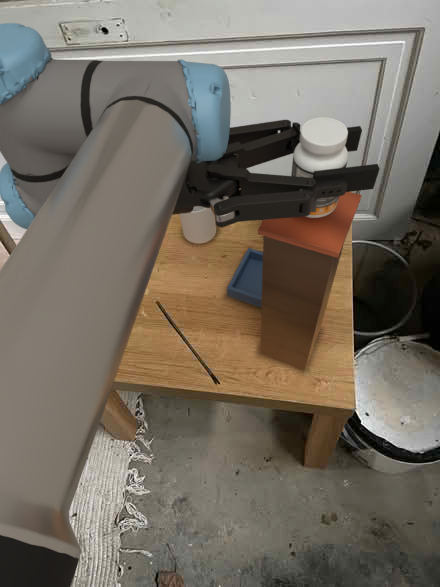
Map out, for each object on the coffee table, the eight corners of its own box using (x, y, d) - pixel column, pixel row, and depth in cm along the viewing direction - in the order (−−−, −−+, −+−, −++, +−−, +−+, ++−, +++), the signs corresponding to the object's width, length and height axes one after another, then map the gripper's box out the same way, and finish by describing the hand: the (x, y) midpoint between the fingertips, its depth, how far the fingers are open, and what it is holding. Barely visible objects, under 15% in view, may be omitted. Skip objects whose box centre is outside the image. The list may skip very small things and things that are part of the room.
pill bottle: (323, 227, 48) (337, 156, 40) (279, 208, 50) (285, 137, 42) (345, 196, 50) (363, 124, 42) (302, 180, 52) (312, 107, 44)
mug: (191, 249, 96) (185, 217, 87) (178, 227, 100) (171, 194, 91) (238, 229, 98) (236, 196, 90) (223, 208, 102) (220, 174, 94)
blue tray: (279, 314, 85) (279, 306, 83) (227, 296, 88) (226, 288, 86) (297, 271, 91) (299, 263, 88) (248, 256, 94) (248, 247, 91)
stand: (306, 374, 78) (339, 252, 48) (256, 354, 80) (257, 228, 50) (322, 330, 82) (361, 194, 52) (275, 313, 85) (286, 176, 55)
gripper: (159, 154, 54) (339, 133, 53) (161, 270, 43) (384, 245, 43) (147, 100, 47) (350, 76, 47) (145, 220, 37) (406, 190, 37)
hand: (366, 156), depth 45 cm, fingers closed on pill bottle, 6 cm apart
